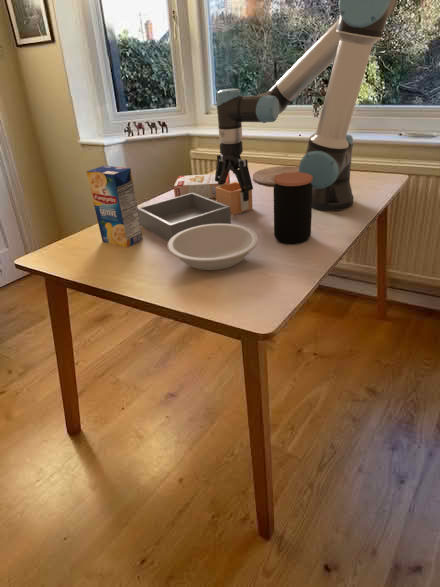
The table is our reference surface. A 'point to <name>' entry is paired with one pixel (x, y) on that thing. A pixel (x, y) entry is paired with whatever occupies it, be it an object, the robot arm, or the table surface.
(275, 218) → the coffee jar
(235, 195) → the orange crate
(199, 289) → the table surface
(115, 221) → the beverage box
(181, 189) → the cracker box
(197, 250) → the soup bowl
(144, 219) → the charcoal crate
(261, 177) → the trivet
